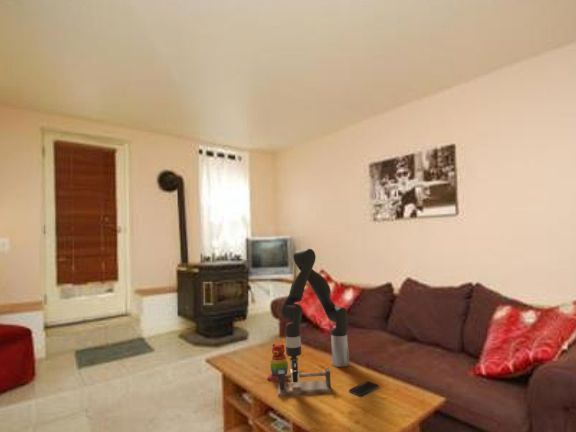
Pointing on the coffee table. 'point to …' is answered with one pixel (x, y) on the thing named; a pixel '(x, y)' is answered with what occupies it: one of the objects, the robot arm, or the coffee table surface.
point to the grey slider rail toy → (304, 385)
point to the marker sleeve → (292, 376)
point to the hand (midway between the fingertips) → (294, 379)
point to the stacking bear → (278, 362)
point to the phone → (364, 388)
